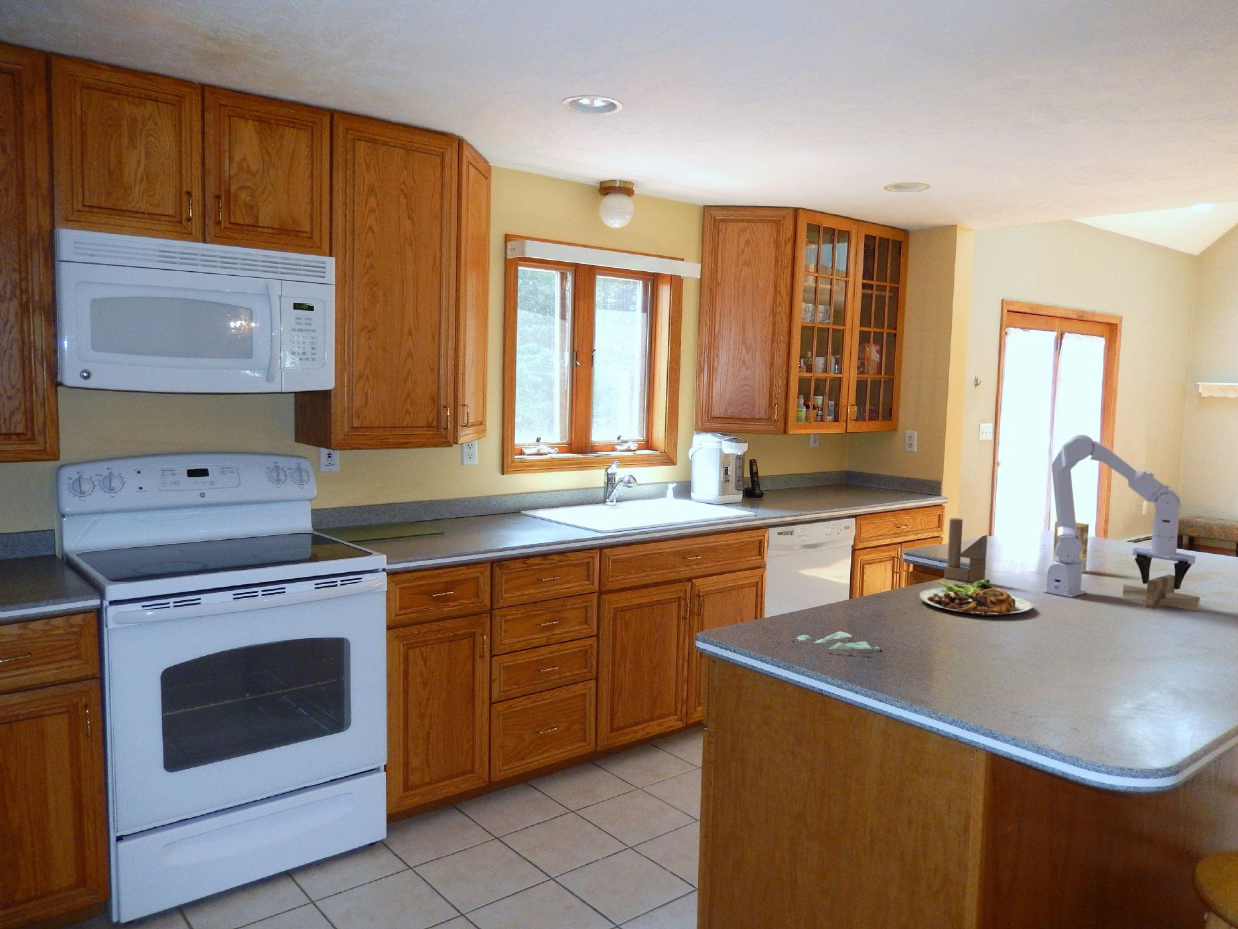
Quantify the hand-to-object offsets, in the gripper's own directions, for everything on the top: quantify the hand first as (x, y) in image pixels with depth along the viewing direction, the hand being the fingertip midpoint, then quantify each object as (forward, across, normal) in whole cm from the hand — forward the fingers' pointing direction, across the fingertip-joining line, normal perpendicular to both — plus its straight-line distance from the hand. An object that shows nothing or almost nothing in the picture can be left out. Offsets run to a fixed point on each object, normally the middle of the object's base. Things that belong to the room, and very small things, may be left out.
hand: (1161, 586), depth 237 cm
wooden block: (+5, +46, +18) cm, 50 cm away
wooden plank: (+5, 0, 0) cm, 5 cm away
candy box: (+5, +35, -24) cm, 43 cm away
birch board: (+5, 0, 0) cm, 5 cm away
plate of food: (+5, +28, +44) cm, 52 cm away
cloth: (+6, +25, +102) cm, 105 cm away
